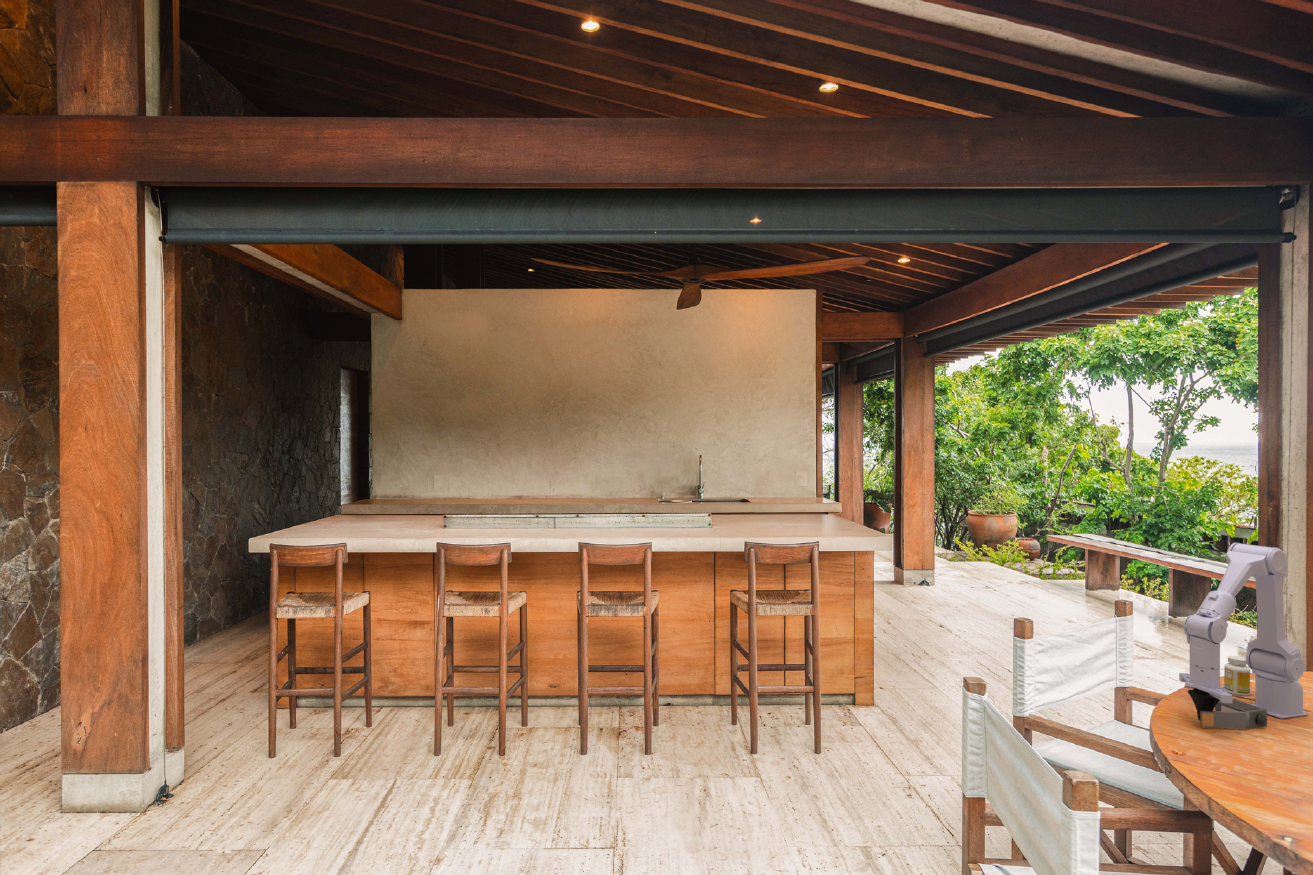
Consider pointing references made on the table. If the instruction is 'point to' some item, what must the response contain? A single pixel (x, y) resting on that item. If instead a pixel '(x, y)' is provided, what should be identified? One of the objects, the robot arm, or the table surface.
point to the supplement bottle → (1237, 676)
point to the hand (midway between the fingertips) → (1204, 721)
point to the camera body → (1255, 713)
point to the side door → (1224, 719)
